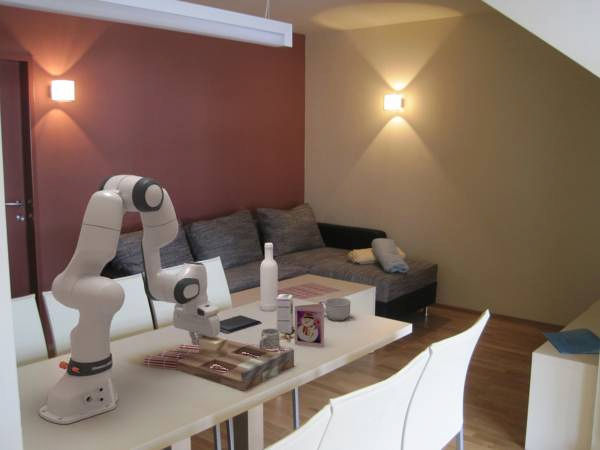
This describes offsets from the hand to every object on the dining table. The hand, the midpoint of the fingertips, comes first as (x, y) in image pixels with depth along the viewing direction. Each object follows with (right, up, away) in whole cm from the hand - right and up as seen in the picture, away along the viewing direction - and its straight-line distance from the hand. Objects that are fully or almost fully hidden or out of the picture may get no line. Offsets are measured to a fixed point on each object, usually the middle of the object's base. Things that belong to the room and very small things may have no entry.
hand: (196, 343), depth 226 cm
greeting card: (+41, -3, +14) cm, 44 cm away
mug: (+25, -4, +7) cm, 27 cm away
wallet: (+10, 0, +37) cm, 38 cm away
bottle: (+23, +4, +58) cm, 63 cm away
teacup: (+52, +2, +45) cm, 69 cm away
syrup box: (+31, 0, +29) cm, 42 cm away
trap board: (+15, -6, -10) cm, 19 cm away
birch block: (+7, -2, -4) cm, 8 cm away
